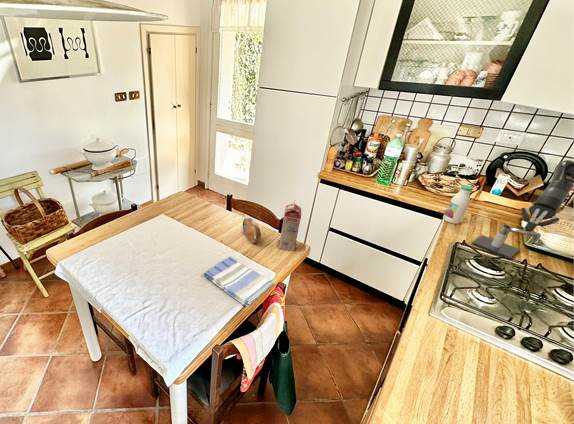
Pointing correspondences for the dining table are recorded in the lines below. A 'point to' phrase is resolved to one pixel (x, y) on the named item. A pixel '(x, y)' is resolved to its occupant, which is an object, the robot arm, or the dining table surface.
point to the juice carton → (290, 227)
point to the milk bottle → (458, 205)
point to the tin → (251, 230)
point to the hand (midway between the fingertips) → (527, 230)
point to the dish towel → (239, 281)
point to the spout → (506, 229)
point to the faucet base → (500, 251)
